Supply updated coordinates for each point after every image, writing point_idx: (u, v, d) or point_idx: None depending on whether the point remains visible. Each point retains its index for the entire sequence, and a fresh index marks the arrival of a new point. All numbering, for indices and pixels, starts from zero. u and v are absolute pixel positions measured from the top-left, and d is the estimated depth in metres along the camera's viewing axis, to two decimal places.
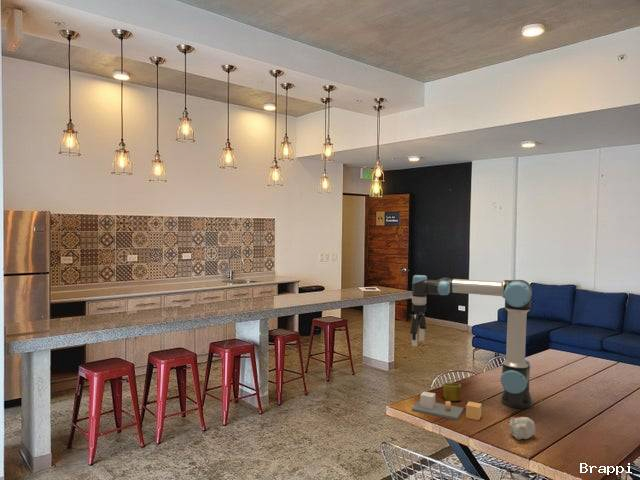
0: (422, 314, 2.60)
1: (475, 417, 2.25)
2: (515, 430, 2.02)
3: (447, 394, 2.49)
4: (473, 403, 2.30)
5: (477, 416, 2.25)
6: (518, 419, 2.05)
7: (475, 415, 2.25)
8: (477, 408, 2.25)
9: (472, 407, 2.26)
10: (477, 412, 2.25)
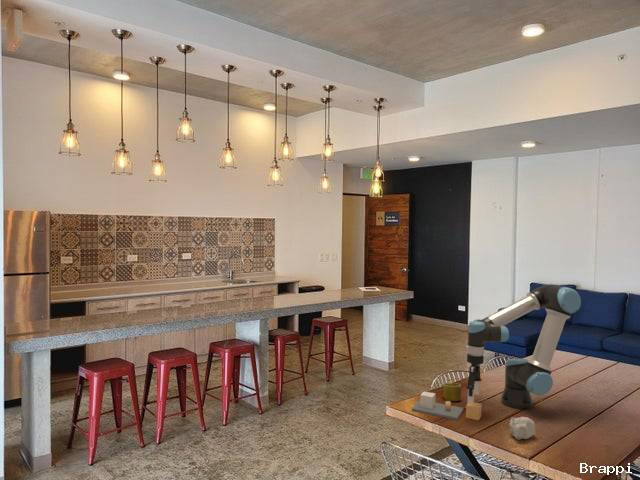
0: (478, 365, 2.30)
1: (475, 417, 2.25)
2: (515, 430, 2.02)
3: (447, 394, 2.49)
4: (473, 403, 2.30)
5: (477, 416, 2.25)
6: (518, 419, 2.05)
7: (475, 415, 2.25)
8: (477, 408, 2.25)
9: (472, 407, 2.26)
10: (477, 412, 2.25)
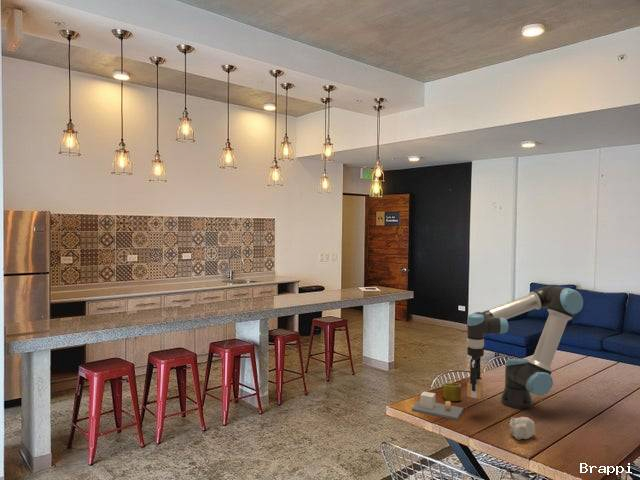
0: (479, 358, 2.30)
1: None
2: (515, 430, 2.02)
3: (447, 394, 2.49)
4: None
5: (478, 394, 2.25)
6: (518, 419, 2.05)
7: None
8: (478, 386, 2.25)
9: None
10: (478, 390, 2.25)
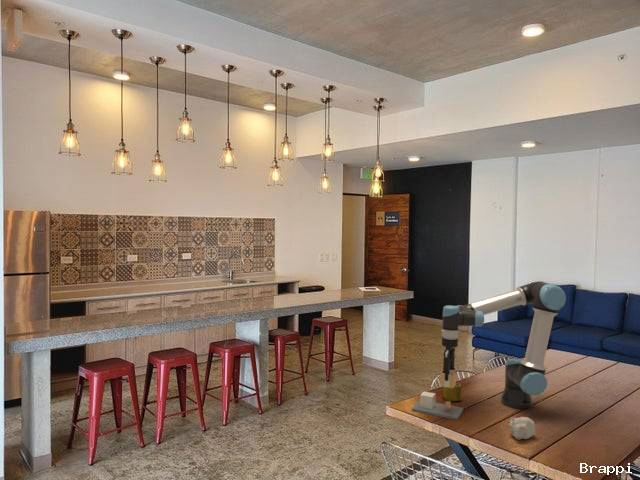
0: (453, 349, 2.35)
1: None
2: (515, 430, 2.02)
3: (447, 394, 2.49)
4: None
5: (451, 384, 2.29)
6: (518, 419, 2.05)
7: None
8: (451, 376, 2.29)
9: None
10: (451, 380, 2.29)
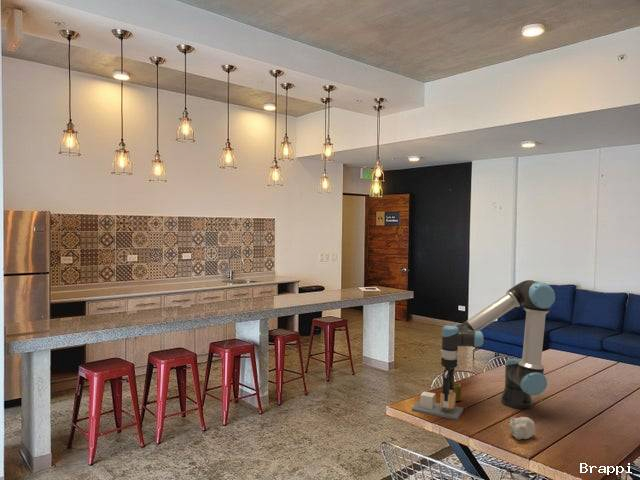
0: (452, 369, 2.35)
1: None
2: (515, 430, 2.02)
3: None
4: None
5: (450, 404, 2.30)
6: (518, 419, 2.05)
7: None
8: (450, 397, 2.30)
9: None
10: (450, 401, 2.30)
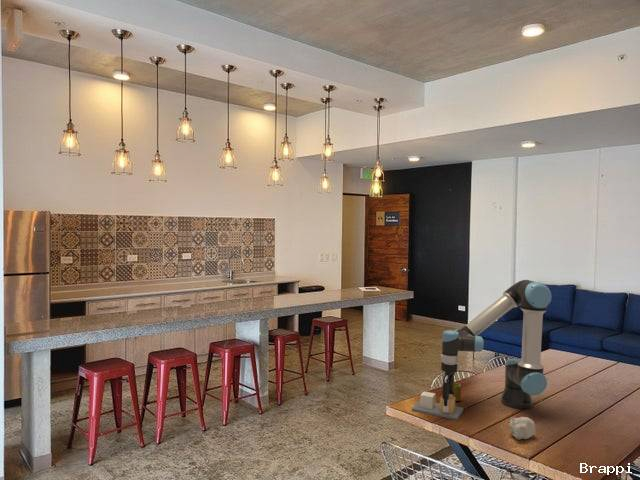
0: (452, 374, 2.35)
1: None
2: (515, 430, 2.02)
3: None
4: None
5: (450, 409, 2.30)
6: (518, 419, 2.05)
7: None
8: (450, 401, 2.30)
9: None
10: (450, 405, 2.30)
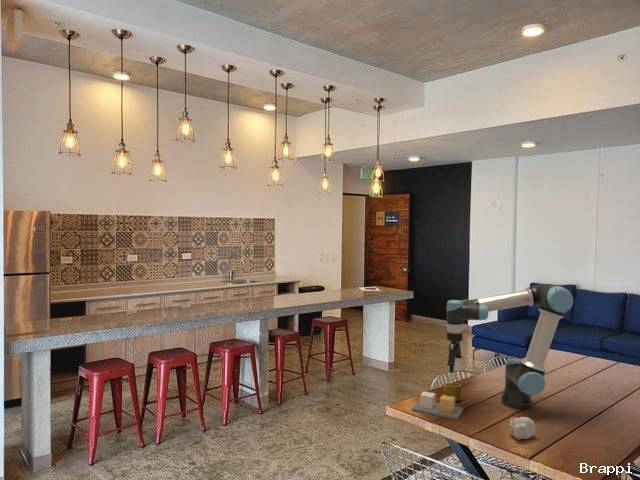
0: (458, 343, 2.37)
1: (448, 410, 2.30)
2: (515, 430, 2.02)
3: (447, 394, 2.49)
4: (447, 396, 2.35)
5: (450, 409, 2.30)
6: (518, 419, 2.05)
7: (448, 408, 2.30)
8: (450, 401, 2.30)
9: (445, 400, 2.31)
10: (450, 405, 2.30)
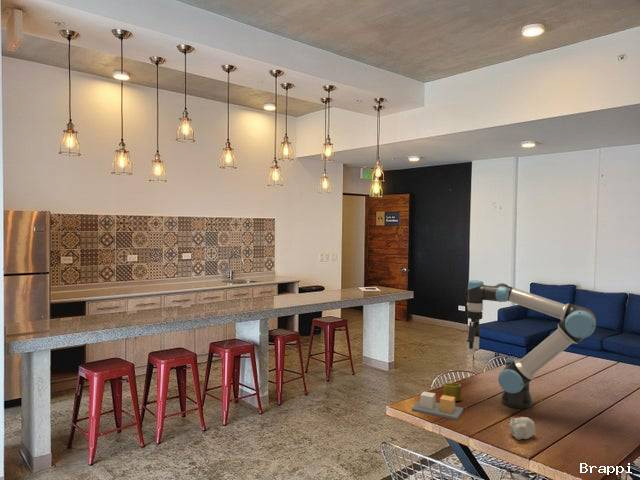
0: (477, 321, 2.48)
1: (448, 410, 2.30)
2: (515, 430, 2.02)
3: (447, 394, 2.49)
4: (447, 396, 2.35)
5: (450, 409, 2.30)
6: (518, 419, 2.05)
7: (448, 408, 2.30)
8: (450, 401, 2.30)
9: (445, 400, 2.31)
10: (450, 405, 2.30)
